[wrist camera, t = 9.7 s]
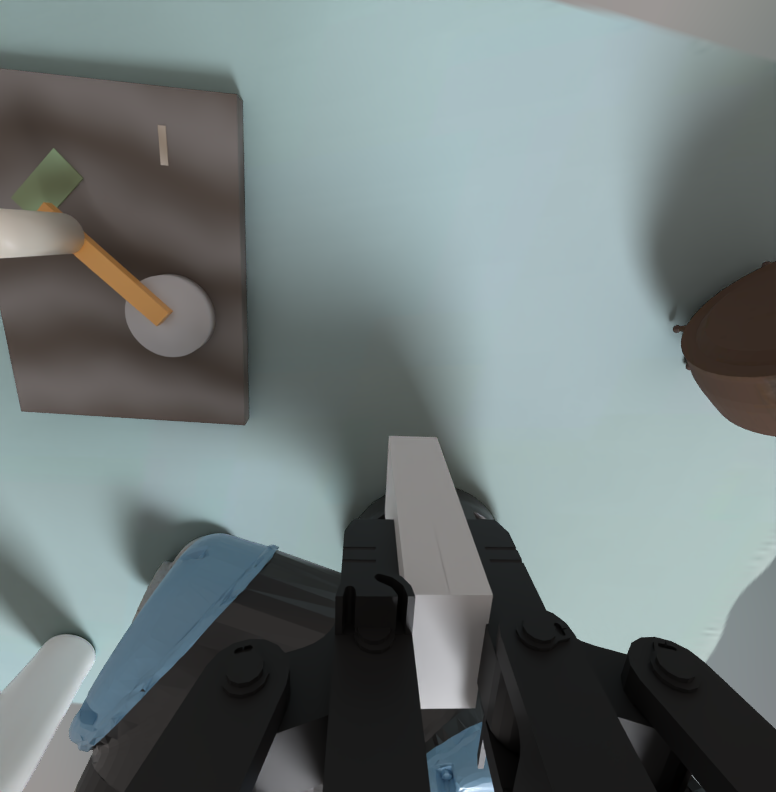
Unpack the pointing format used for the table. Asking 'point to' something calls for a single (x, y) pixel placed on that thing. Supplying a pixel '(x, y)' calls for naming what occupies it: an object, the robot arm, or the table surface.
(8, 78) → the dial plate
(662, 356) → the table surface
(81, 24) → the table surface
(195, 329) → the dial
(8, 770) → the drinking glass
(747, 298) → the alarm clock
